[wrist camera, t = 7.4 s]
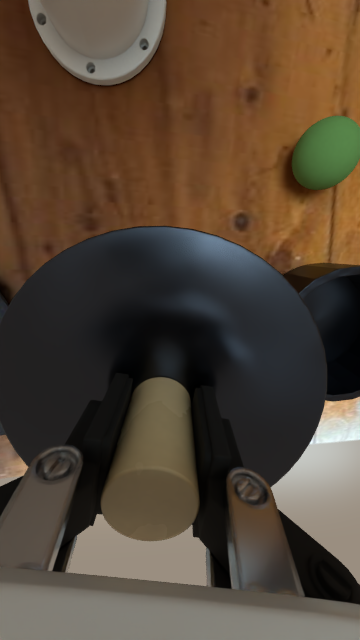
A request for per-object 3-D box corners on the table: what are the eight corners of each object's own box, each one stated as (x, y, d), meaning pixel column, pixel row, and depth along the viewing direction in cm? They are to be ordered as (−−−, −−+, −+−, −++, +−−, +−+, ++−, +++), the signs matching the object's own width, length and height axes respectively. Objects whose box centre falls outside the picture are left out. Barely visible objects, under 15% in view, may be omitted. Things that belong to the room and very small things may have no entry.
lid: (3, 196, 10) (-237, 121, 4) (360, 263, 11) (568, 276, 5) (10, 485, 14) (-105, 647, 8) (267, 516, 15) (323, 680, 9)
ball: (291, 128, 26) (324, 93, 20) (344, 141, 26) (391, 109, 20) (275, 189, 27) (301, 173, 22) (325, 200, 28) (364, 187, 22)
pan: (251, 248, 29) (273, 247, 22) (405, 279, 30) (470, 287, 24) (223, 358, 33) (235, 385, 26) (360, 381, 34) (406, 413, 27)
